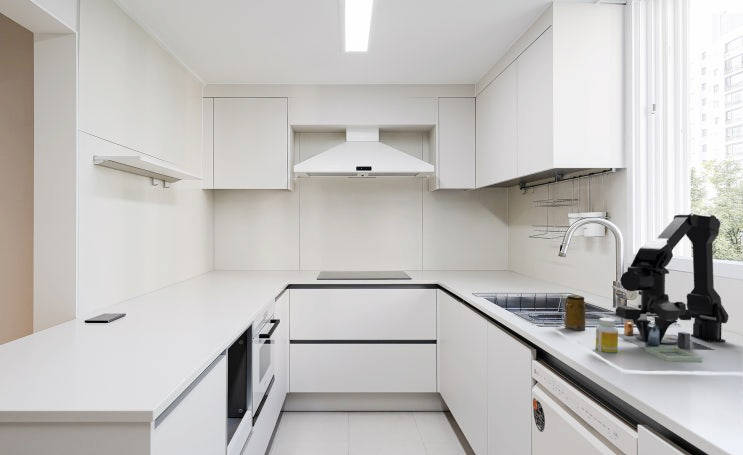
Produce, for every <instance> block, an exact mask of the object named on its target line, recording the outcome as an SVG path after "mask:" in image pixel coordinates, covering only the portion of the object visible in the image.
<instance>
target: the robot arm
mask: <svg viewBox="0 0 743 455" xmlns="http://www.w3.org/2000/svg"><path fill="white" fill-rule="evenodd" d="M720 227H721V221H720V219H719V218H717V216H716V215H713V214H708V215H706V214H701V215H699V214H695V213H685V212H683V213H677V214H674V216H673V218H672V221H671V222H670V223H669V224H668V225H667V226H666V227H665V229H663V231H662V232H661V233H660V234H659V235H658V236H657V238H655V239H654V240H652V241H648V242H647V243H645V244H644V245H642V246H640V248H639V249H638V251H637V252H636V255H635V256H634V259H633V261H632V263H631V264H630V266H628V267H627V271H625V272H623V274H622V275H621V277H620V279H619V280H620V284H621V286H622V288H623V289H624V290H626V291H627V292H637V291H638V292H637V293H638V295H639V296H641V297H640V304H638V305H637V308H635V307H633V306H628V305H626V306H625V305H624V306H623V305H621V306H619V305H617V307H616V309H615V316H617V317H620V318H623V319H625V320H631V321H632V323H634V326H635V327H636V328H637V332H639V333H640V335H641V337H642V339H643V341H644V342H647V339H648V325H650V323H651V320H649V319H648V317H654V325H656V326H659V327H660V343H661V341H662V339H663V337H664V335H665V334H666V332H667V331H668V329H669V327H670V326H672V325H673V324H674V323H678V319H679V320H681V321H691V320H692V319H694V320H693V321H694V323H693V324H692V334H691V333H690V337H693V338H695V339H698V340H701V341H703V342H716V343H718V342H720V343H721V342H726V339H723V338H722V324H727V323H728V320H729V314H728V312H727V311H726V309H725V307H724V306H723V304H722V298H721V296H720V295H719V294H718V292H717V291H716V290H715V286H714V282H715V281H714V260H713V259H714V256H713V255H714V253H713V251H714V250H713V243H714V241H715V240H716V239H717V238H718V236H719V234H720ZM685 235H686V237H687V238H688V240H689V241H690V242H691V244H692V265H693V266H692V267H693V268H692V269H693V289H692V290H691V291H690V292H689V293H687V294H686V303H685V302H684V301H675V302H674V301H670V300H669V299H670V298H669V297H670V296H669V294H667V293H666V275H669V274H670V271H669V269H667V268H666V267H667V266H668V265H669V263H670V262H671V261H672V259H673V257H674V254H673V250H674V248H676V246H677V245H678V244H679V242H680V241H681V240H682V239H683V237H685Z"/></svg>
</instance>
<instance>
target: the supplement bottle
mask: <svg viewBox="0 0 743 455" xmlns="http://www.w3.org/2000/svg"><path fill="white" fill-rule="evenodd" d="M598 319H599V320H598V323H599V324H598V325H597V326H596V330H595V351H597V352H600V353H604V354H605V353H606V354H617V353H618V350H619V348H618V346H619V345H618V344H619V343H618V342H619V337H618V334H619V329H618V328H617V327H616V322H617V321H616V319H615V318H610V317H609V318H608V317H600V318H598Z"/></svg>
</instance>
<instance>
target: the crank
mask: <svg viewBox="0 0 743 455" xmlns="http://www.w3.org/2000/svg"><path fill="white" fill-rule="evenodd" d="M623 324H624V327H623V328H624V332H623V334H624V335H625V336H630V337H632V336H636V337H637V338H639V339H642V337H641V335H640V333H639V331H634V326H635V323H634V322H633V321H632V322H631V321H624V323H623ZM672 335H673V334H669V333H665V335H664V337H663V339H662V341H661V343H666V344H673V343H678V338H677V337H675V336H672ZM642 340H643V339H642Z"/></svg>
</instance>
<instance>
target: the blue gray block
mask: <svg viewBox="0 0 743 455" xmlns="http://www.w3.org/2000/svg"><path fill="white" fill-rule="evenodd" d="M645 344H646V345H649V346H655V347H658V346H660V327H659V326H656V325H655V324H648V339H647V342H645Z"/></svg>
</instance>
